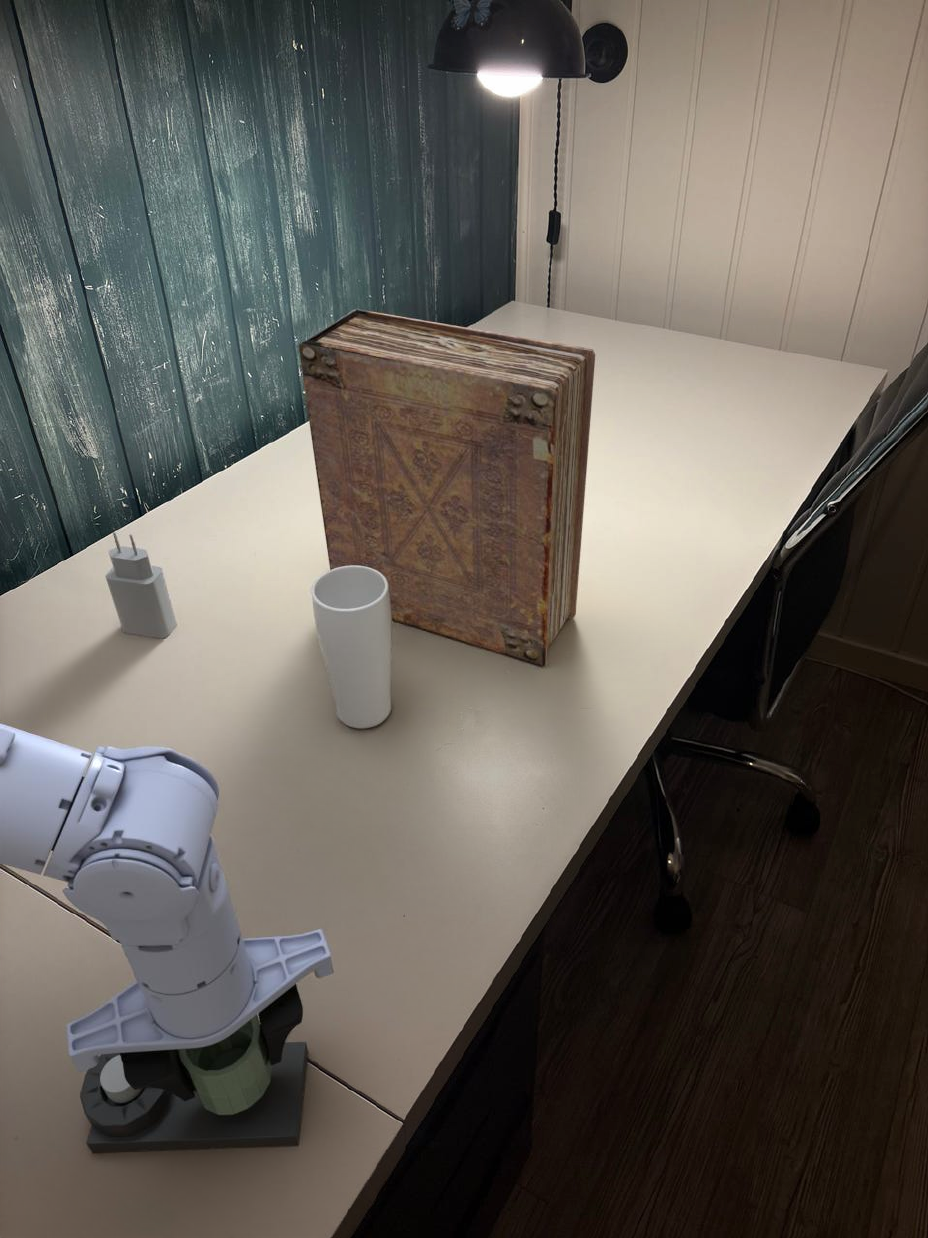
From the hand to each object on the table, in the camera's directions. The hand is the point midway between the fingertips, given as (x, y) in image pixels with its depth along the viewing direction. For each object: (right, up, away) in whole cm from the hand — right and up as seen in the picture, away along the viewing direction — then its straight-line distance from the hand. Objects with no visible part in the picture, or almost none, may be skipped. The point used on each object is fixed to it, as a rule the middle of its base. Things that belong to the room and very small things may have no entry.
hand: (230, 1066), depth 57 cm
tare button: (-7, -2, +1) cm, 7 cm away
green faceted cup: (0, -1, +1) cm, 2 cm away
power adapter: (-19, +27, +42) cm, 53 cm away
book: (+13, +29, +43) cm, 54 cm away
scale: (-2, -4, +3) cm, 5 cm away
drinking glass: (+5, +19, +31) cm, 37 cm away
